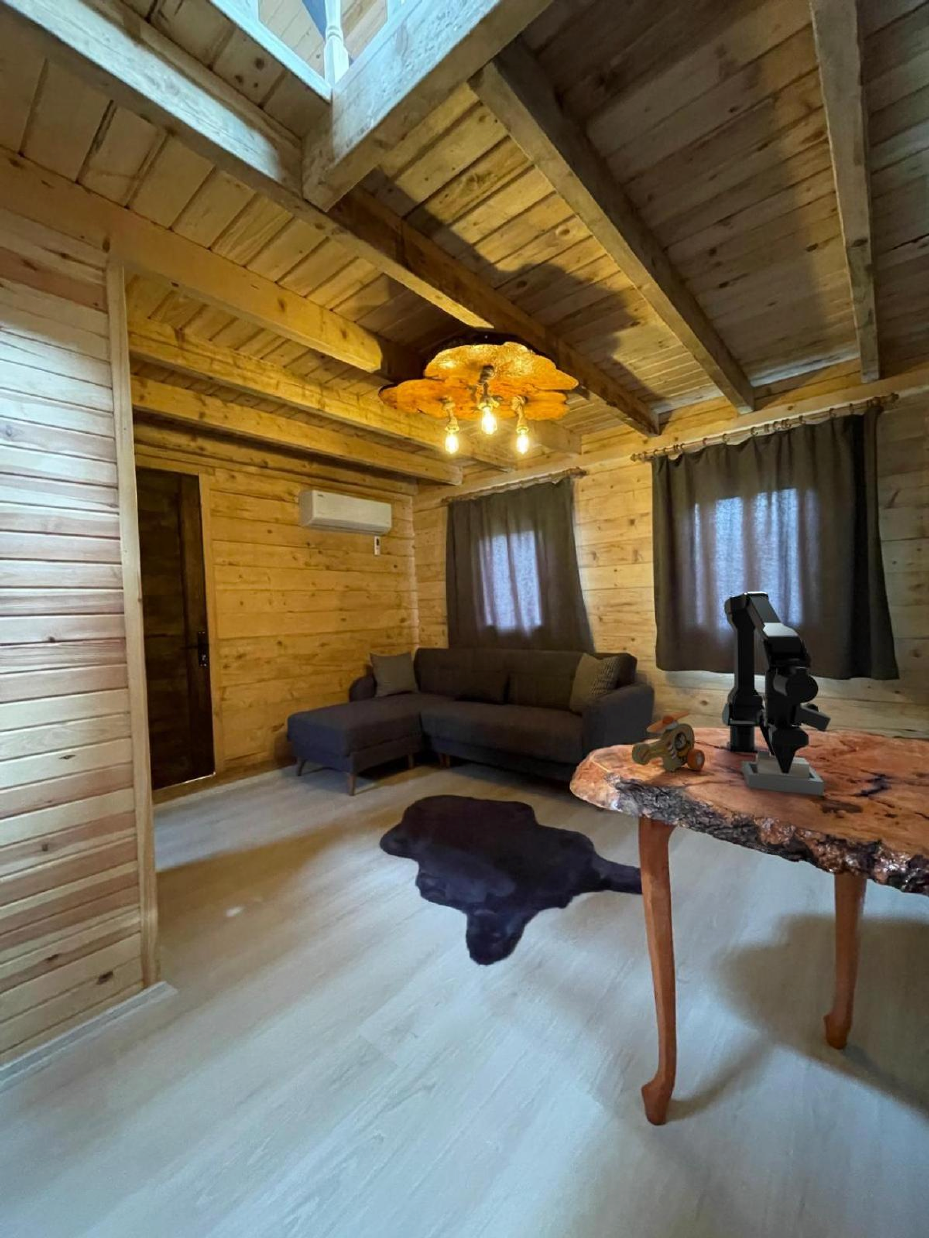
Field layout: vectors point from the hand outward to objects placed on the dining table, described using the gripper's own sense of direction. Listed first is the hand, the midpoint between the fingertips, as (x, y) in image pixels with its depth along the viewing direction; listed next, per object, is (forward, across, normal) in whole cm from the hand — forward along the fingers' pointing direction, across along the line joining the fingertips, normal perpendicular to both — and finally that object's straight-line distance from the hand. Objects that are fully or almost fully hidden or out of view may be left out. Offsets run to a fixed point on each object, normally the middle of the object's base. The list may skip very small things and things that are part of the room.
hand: (780, 765), depth 107 cm
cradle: (+4, 0, 0) cm, 4 cm away
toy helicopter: (+4, +1, +22) cm, 23 cm away
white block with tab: (+3, 0, 0) cm, 3 cm away
